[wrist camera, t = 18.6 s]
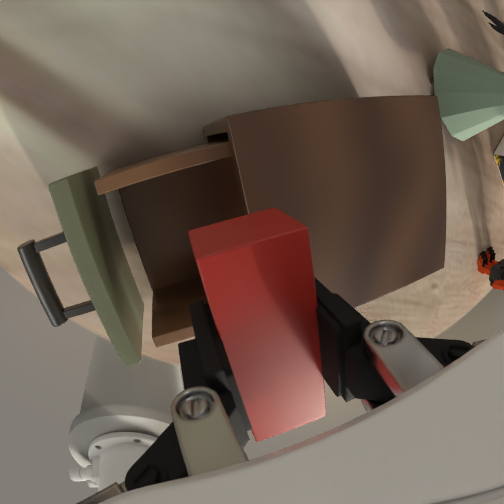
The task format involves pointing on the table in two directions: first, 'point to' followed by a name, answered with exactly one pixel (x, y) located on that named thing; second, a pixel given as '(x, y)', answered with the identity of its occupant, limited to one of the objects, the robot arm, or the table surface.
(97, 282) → the drawer
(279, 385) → the red rectangular block
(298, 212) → the cabinet
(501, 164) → the medicine bottle
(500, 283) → the toy animal
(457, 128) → the character figurine
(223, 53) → the table surface
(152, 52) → the table surface
